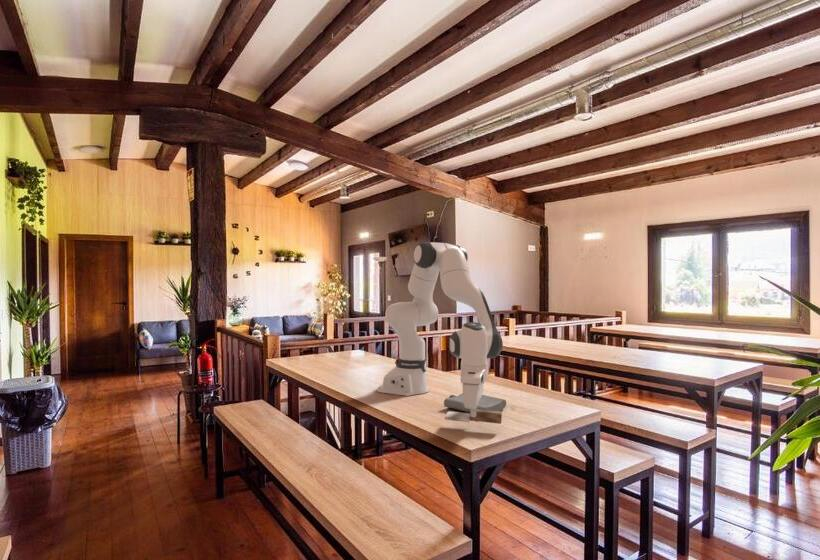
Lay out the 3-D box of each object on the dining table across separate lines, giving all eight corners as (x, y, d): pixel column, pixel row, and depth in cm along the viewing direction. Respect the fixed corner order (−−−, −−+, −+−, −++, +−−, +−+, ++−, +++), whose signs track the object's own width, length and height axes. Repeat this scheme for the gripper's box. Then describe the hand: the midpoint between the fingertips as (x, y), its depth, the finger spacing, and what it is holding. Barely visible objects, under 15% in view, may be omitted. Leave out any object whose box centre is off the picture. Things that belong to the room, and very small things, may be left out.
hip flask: (483, 408, 161) (438, 397, 174) (483, 419, 161) (438, 408, 174) (506, 398, 173) (462, 389, 186) (506, 409, 173) (462, 399, 186)
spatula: (502, 419, 151) (502, 410, 151) (500, 425, 145) (500, 415, 145) (448, 414, 156) (448, 404, 156) (444, 419, 150) (444, 409, 150)
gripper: (469, 366, 161) (469, 405, 161) (459, 379, 141) (459, 423, 142) (487, 367, 159) (487, 406, 160) (480, 380, 140) (480, 425, 140)
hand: (474, 414), depth 150 cm, fingers closed on spatula, 2 cm apart
